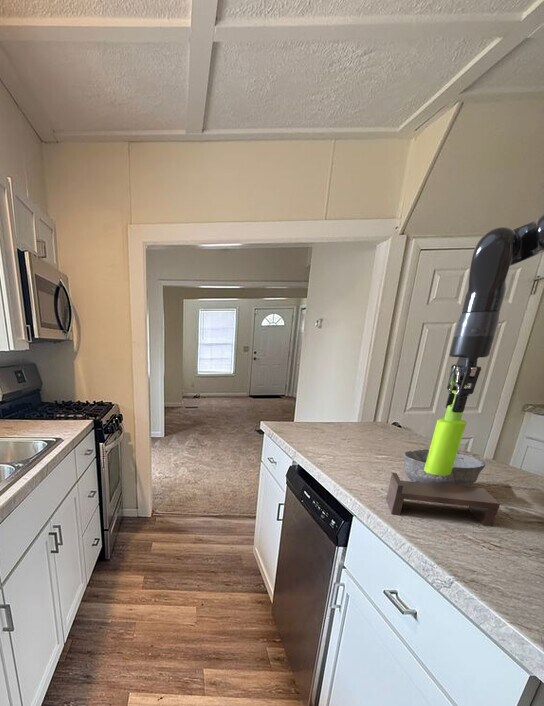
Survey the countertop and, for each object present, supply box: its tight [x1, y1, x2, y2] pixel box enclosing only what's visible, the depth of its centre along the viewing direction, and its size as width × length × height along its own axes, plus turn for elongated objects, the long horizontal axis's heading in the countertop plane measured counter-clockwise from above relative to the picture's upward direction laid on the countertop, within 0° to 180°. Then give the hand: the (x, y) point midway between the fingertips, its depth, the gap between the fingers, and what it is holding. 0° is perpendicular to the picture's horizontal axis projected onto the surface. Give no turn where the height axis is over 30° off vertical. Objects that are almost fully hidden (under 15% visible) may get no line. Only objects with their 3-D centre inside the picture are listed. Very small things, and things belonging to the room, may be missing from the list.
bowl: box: [403, 449, 487, 487], centre depth 122 cm, size 21×21×10 cm
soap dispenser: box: [424, 390, 467, 476], centre depth 99 cm, size 6×7×20 cm
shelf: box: [385, 472, 501, 527], centre depth 105 cm, size 22×12×8 cm, turn 69°
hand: (453, 410), depth 97 cm, fingers closed on soap dispenser, 5 cm apart
